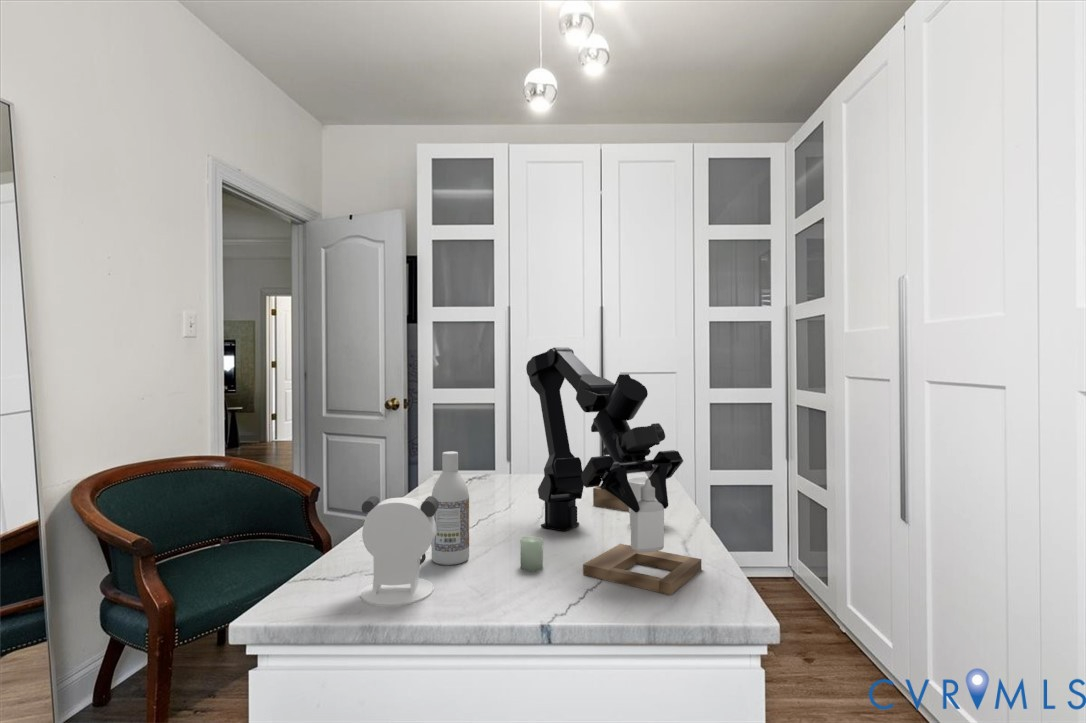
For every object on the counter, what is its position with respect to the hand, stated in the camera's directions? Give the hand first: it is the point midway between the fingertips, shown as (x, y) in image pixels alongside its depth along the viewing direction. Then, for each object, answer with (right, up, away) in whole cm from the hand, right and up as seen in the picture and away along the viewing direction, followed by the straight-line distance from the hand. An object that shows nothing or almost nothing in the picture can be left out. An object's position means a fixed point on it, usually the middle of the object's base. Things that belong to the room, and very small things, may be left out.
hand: (652, 509), depth 101 cm
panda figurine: (-42, -12, -6) cm, 44 cm away
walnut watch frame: (+2, -12, +52) cm, 53 cm away
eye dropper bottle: (-1, -7, +1) cm, 8 cm away
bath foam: (-36, -12, +10) cm, 39 cm away
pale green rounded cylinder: (-21, -12, +5) cm, 24 cm away
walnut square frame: (-1, -12, +3) cm, 12 cm away
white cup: (+4, -12, +33) cm, 35 cm away
